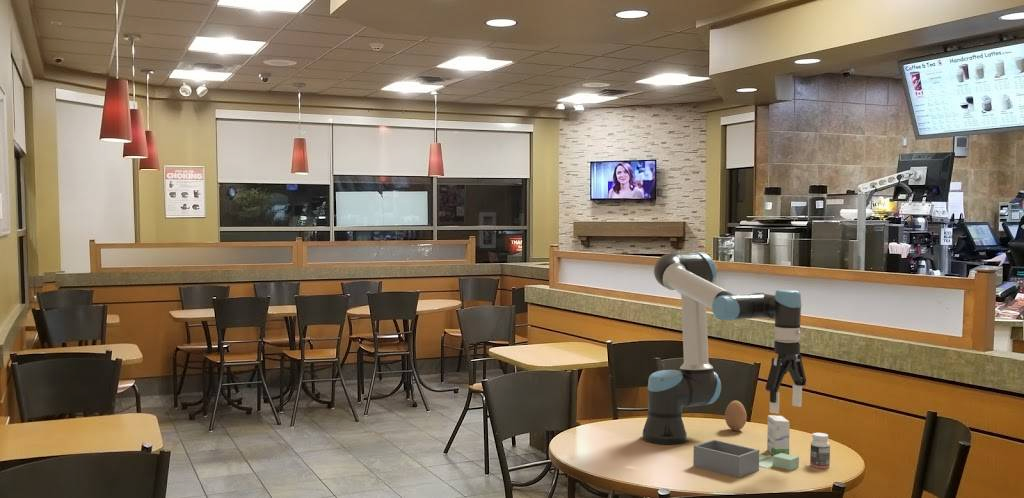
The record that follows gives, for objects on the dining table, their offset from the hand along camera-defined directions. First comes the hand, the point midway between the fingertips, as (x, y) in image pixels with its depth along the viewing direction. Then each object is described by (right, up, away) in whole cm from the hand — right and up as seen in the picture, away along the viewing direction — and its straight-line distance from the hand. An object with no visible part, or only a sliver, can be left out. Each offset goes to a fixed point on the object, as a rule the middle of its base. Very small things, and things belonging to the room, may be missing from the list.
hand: (785, 409), depth 260 cm
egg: (-3, -17, +48) cm, 51 cm away
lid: (-6, -18, +7) cm, 20 cm away
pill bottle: (+12, -19, +4) cm, 22 cm away
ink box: (+3, -18, +18) cm, 25 cm away
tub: (-19, -18, -1) cm, 26 cm away
